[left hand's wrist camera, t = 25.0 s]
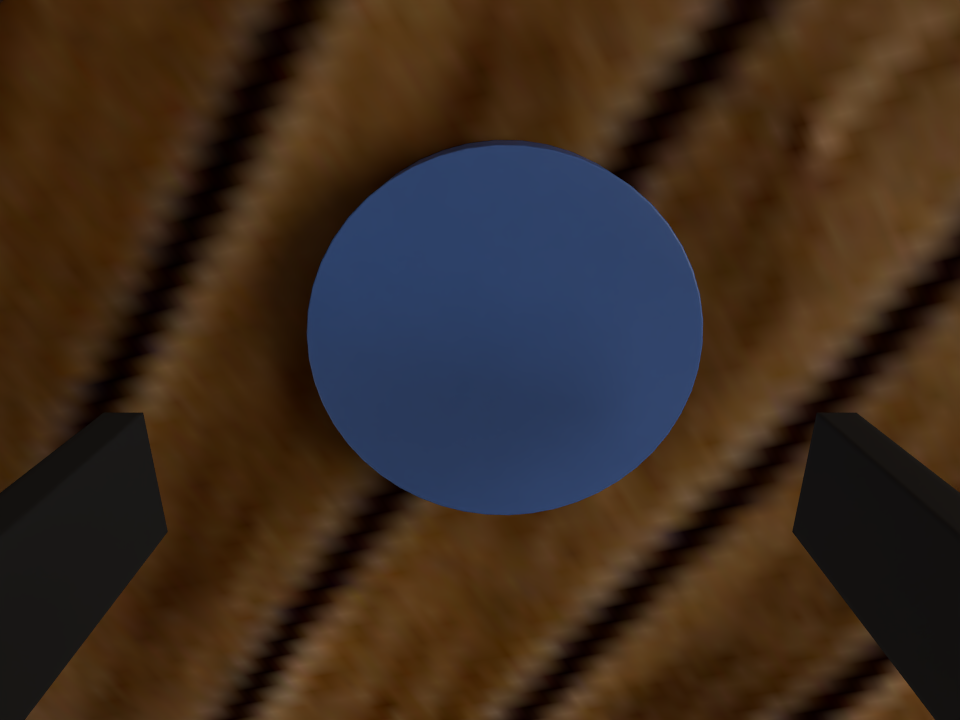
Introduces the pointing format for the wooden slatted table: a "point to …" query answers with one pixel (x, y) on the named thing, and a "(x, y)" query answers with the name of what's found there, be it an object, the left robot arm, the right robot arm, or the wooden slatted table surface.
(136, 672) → the wooden slatted table surface
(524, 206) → the lid
